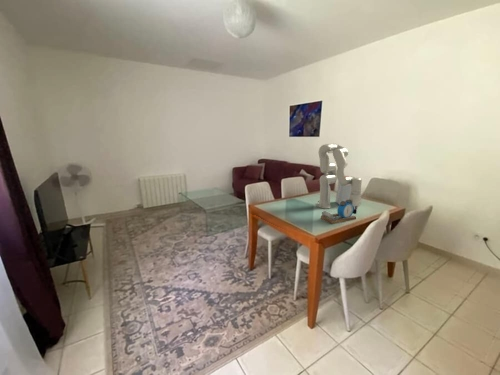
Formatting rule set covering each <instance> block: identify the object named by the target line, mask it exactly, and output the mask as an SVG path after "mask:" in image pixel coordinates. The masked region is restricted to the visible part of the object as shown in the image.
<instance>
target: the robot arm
mask: <svg viewBox="0 0 500 375" xmlns="http://www.w3.org/2000/svg"><path fill="white" fill-rule="evenodd" d="M328 154H332V156H333V159H334V161H335V163H334V162H331V161H330V158H329V155H328ZM348 155H349V151H348V149H347V148H345V147H344V146H341V145H339V144H337V143H325V144H322V145H321V146H320V147H319V148H318V156H319V157H318V158H319V169H320V172H321V173H322V174H323V175H321V176H320V177H319V200H318V201H317V203H318V204H317V207H318V208H321V209H331V208H332V205H331V191H332V190H331V186H330V185H332V184H334V183H336V182H338V181H339V183H340V185H342V186H348V185H351V194H350V196H349V200H350V201H351V202H352V203H351V204H352V205H353V207H354V210H353V214H354V215H356V214H357V212H358V211H357V210H358V208H359V207H360V206H361V205H362V195H361V194H362V193H361V192H362V181H363V180H362V178H360V177H355V176H350V175H348V176H349V177H345V176H346V175H345V169H346V167H347V166H348V160H347V159H346V158H347V157H348ZM353 214H352V215H353Z"/></svg>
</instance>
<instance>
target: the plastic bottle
mask: <svg viewBox="0 0 500 375" xmlns="http://www.w3.org/2000/svg"><path fill="white" fill-rule="evenodd" d="M349 176H350V175H345V177H349ZM336 188H337V189H336V196H335V203H336V204H338V206H339V205H340V202H341V201H346V200H349V196H350V194H351V185H348V186H342V185H340V183H339V181H338V180H337V187H336Z"/></svg>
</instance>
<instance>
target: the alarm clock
mask: <svg viewBox="0 0 500 375" xmlns="http://www.w3.org/2000/svg"><path fill="white" fill-rule="evenodd" d="M351 203H352V202H351V201H350V200H346V201H341V202H340V205H339V204H338V206H337V210H336V211H337V213H338V215H339V216H338V217H341V218H347V217H352V215H353V210H354V207H353V205H352V204H351ZM337 213H336V214H337Z"/></svg>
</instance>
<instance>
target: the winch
mask: <svg viewBox="0 0 500 375" xmlns="http://www.w3.org/2000/svg"><path fill="white" fill-rule="evenodd" d="M335 214H336V213H330V212H327V211H325V210H324V211H322V212H321V216H320V219H321V220H322V221H325V222H326V223H329V224H331V225H333V224H336V223H335V220H337V215H335Z"/></svg>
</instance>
